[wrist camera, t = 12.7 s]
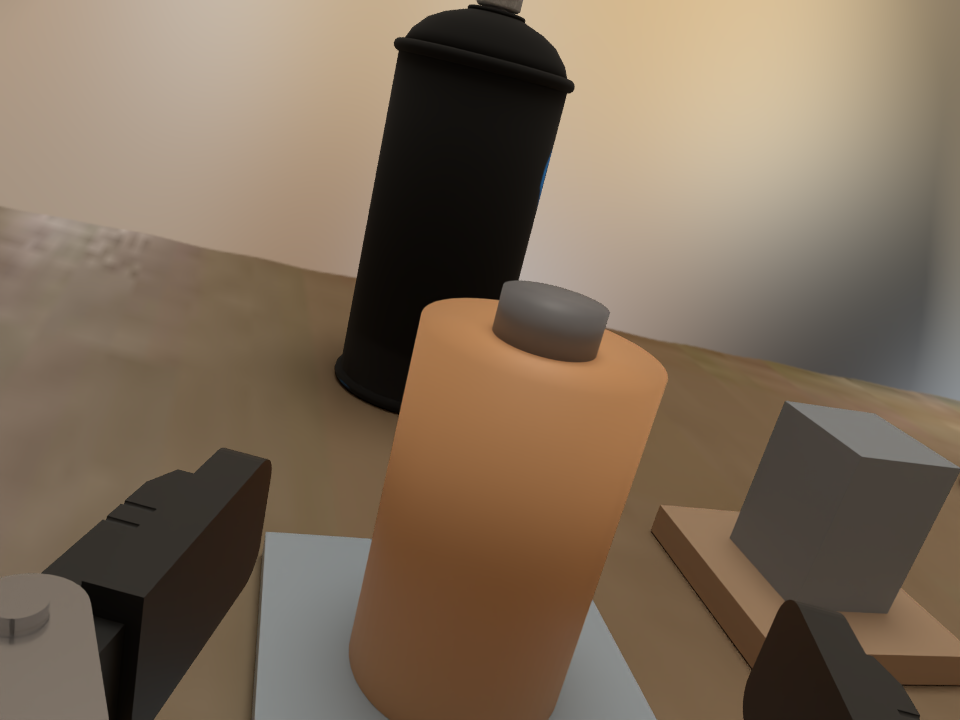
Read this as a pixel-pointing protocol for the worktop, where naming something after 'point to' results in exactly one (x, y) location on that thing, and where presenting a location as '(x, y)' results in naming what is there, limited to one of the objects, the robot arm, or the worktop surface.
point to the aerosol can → (451, 181)
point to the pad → (327, 631)
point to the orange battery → (499, 503)
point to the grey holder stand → (825, 539)
